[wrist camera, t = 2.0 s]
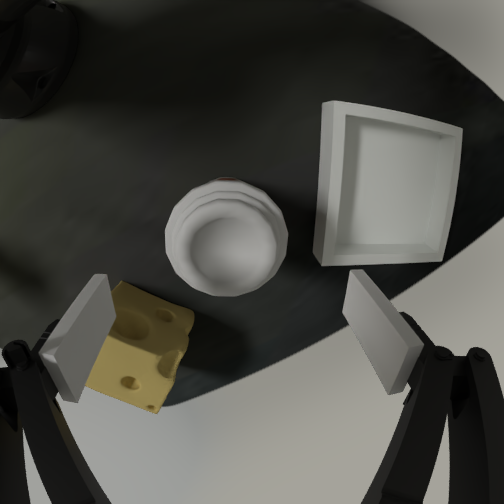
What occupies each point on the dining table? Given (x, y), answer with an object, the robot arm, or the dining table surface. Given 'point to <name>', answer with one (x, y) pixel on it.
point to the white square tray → (384, 186)
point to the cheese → (141, 348)
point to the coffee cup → (226, 237)
